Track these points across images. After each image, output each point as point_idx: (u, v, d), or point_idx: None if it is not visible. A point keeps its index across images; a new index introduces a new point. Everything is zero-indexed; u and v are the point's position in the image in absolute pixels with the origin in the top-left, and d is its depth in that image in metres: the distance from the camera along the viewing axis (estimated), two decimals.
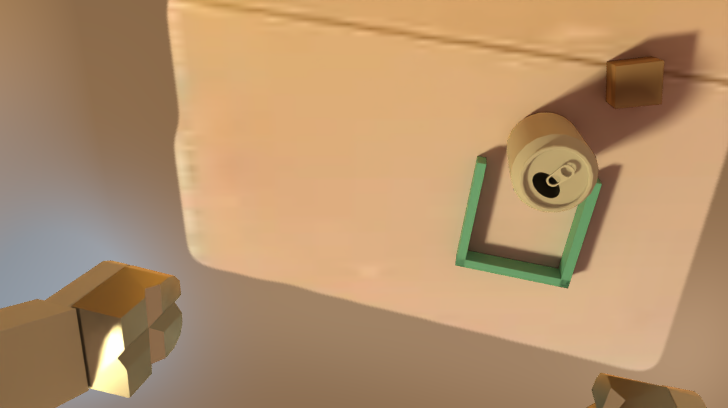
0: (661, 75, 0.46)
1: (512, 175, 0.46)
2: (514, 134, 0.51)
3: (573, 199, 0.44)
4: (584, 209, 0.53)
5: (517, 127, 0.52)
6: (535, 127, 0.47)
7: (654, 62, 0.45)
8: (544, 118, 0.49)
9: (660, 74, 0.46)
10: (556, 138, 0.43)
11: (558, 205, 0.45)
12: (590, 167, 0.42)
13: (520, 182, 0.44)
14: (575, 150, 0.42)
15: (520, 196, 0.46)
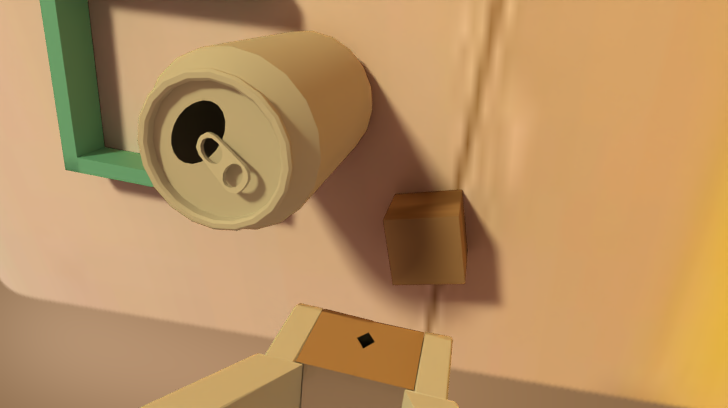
0: (440, 281, 0.27)
1: (209, 50, 0.18)
2: (322, 43, 0.24)
3: (180, 192, 0.20)
4: None
5: (338, 48, 0.25)
6: (336, 88, 0.22)
7: (462, 270, 0.27)
8: (358, 101, 0.24)
9: (442, 280, 0.27)
10: (309, 143, 0.18)
11: (159, 163, 0.19)
12: (251, 222, 0.19)
13: (188, 72, 0.17)
14: (283, 190, 0.18)
15: (165, 75, 0.19)
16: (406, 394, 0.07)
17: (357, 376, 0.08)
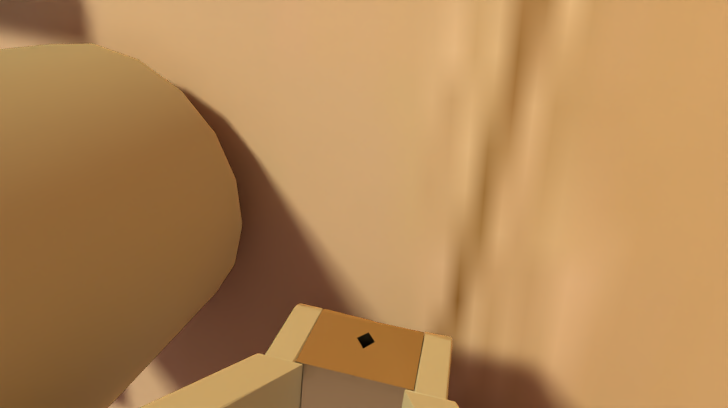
0: None
1: None
2: (62, 84, 0.09)
3: None
4: None
5: (131, 92, 0.10)
6: (4, 253, 0.06)
7: None
8: (162, 240, 0.09)
9: None
10: None
11: None
12: None
13: None
14: None
15: None
16: (406, 394, 0.07)
17: (357, 376, 0.08)
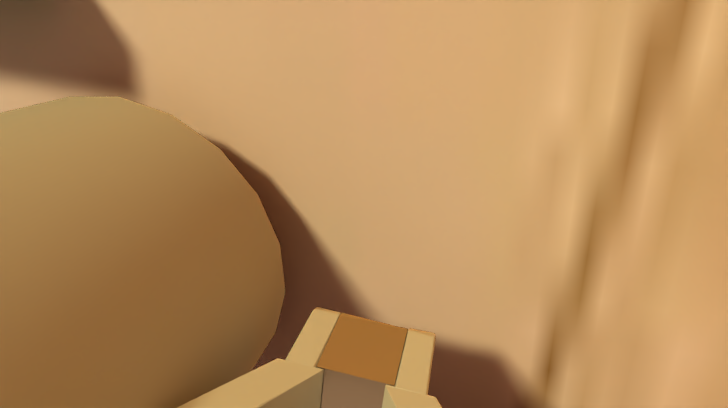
0: None
1: None
2: (95, 158, 0.08)
3: None
4: None
5: (169, 158, 0.09)
6: (46, 400, 0.05)
7: None
8: (212, 335, 0.08)
9: None
10: None
11: None
12: None
13: None
14: None
15: None
16: (386, 389, 0.07)
17: (338, 372, 0.08)
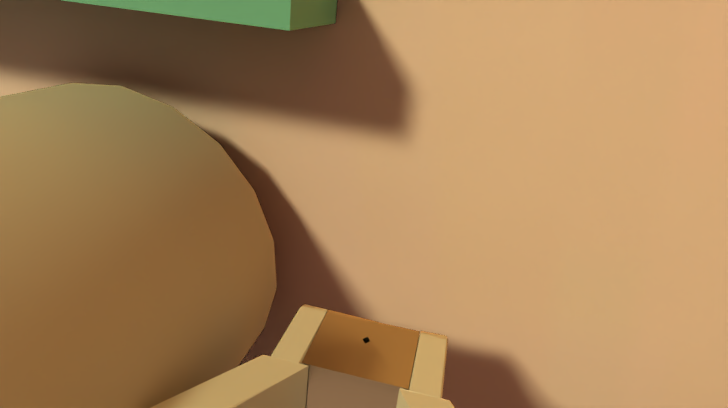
0: None
1: None
2: (96, 148, 0.08)
3: None
4: None
5: (168, 151, 0.09)
6: (39, 388, 0.05)
7: None
8: (203, 328, 0.08)
9: None
10: None
11: None
12: None
13: None
14: None
15: None
16: (401, 393, 0.07)
17: (352, 375, 0.08)
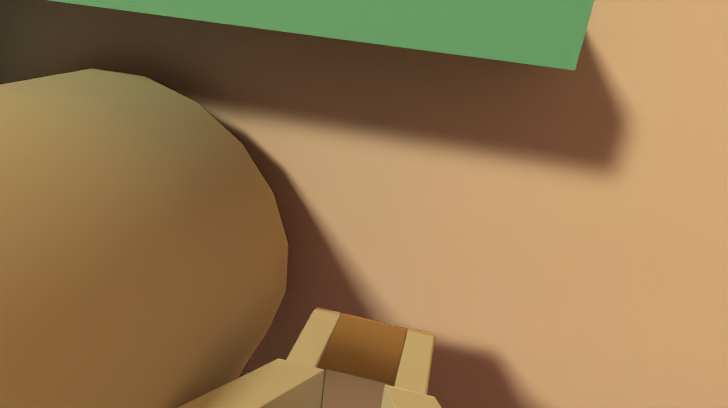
0: None
1: None
2: (126, 145, 0.08)
3: None
4: None
5: (195, 150, 0.09)
6: (76, 399, 0.05)
7: None
8: (223, 334, 0.08)
9: None
10: None
11: None
12: None
13: None
14: None
15: None
16: (386, 389, 0.07)
17: (338, 371, 0.08)
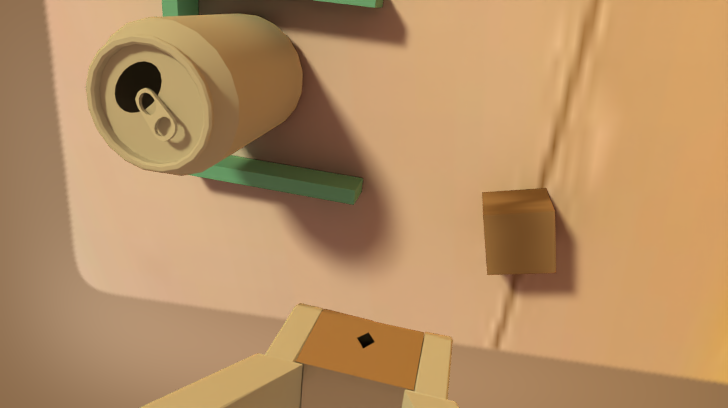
0: (532, 271, 0.30)
1: (155, 20, 0.22)
2: (261, 28, 0.28)
3: (118, 135, 0.24)
4: (307, 183, 0.32)
5: (276, 34, 0.29)
6: (264, 68, 0.26)
7: (554, 260, 0.29)
8: (286, 82, 0.29)
9: (534, 270, 0.30)
10: (229, 109, 0.23)
11: (103, 109, 0.23)
12: (175, 167, 0.23)
13: (134, 37, 0.21)
14: (203, 144, 0.22)
15: (115, 35, 0.23)
16: (406, 394, 0.07)
17: (357, 376, 0.08)
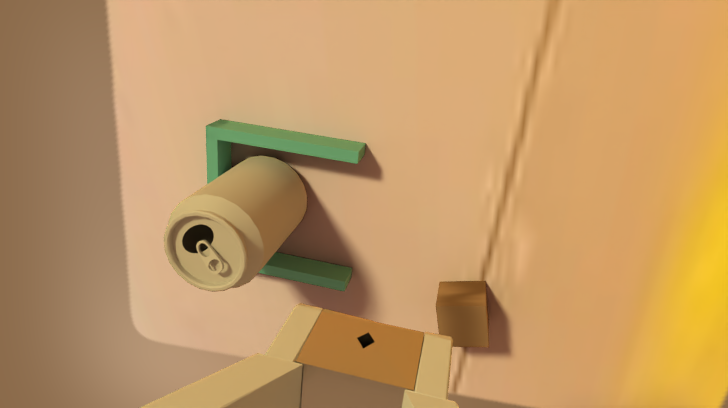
0: (472, 345, 0.41)
1: (210, 197, 0.34)
2: (277, 174, 0.40)
3: (183, 265, 0.35)
4: (310, 275, 0.44)
5: (288, 175, 0.41)
6: (280, 211, 0.38)
7: (487, 338, 0.41)
8: (295, 211, 0.40)
9: (473, 344, 0.41)
10: (257, 252, 0.34)
11: (173, 249, 0.35)
12: (221, 289, 0.35)
13: (197, 213, 0.33)
14: (240, 276, 0.34)
15: (183, 204, 0.34)
16: (406, 394, 0.07)
17: (357, 376, 0.08)
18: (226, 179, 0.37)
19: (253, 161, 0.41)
